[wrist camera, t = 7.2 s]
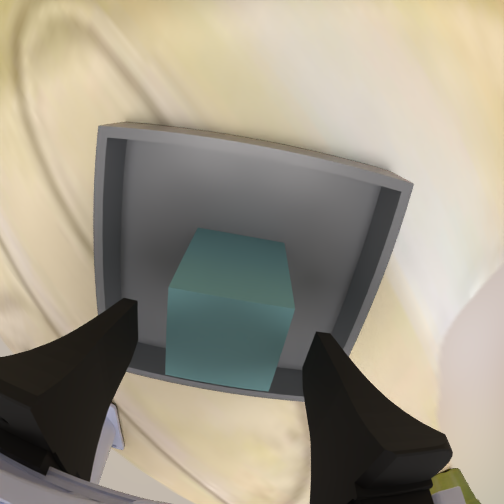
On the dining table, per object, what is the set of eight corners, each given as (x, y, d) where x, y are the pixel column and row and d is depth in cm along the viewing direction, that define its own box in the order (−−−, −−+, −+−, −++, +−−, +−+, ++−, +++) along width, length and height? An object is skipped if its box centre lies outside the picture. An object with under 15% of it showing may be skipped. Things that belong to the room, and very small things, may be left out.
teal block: (189, 300, 18) (165, 374, 13) (197, 227, 17) (168, 287, 11) (266, 313, 19) (268, 391, 13) (284, 242, 17) (295, 308, 11)
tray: (119, 336, 21) (104, 365, 18) (124, 121, 15) (98, 125, 12) (319, 371, 21) (325, 403, 19) (389, 171, 16) (413, 183, 13)
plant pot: (398, 492, 33) (409, 540, 25) (450, 459, 29) (468, 510, 21) (432, 492, 34) (443, 533, 27) (478, 461, 31) (494, 504, 23)
